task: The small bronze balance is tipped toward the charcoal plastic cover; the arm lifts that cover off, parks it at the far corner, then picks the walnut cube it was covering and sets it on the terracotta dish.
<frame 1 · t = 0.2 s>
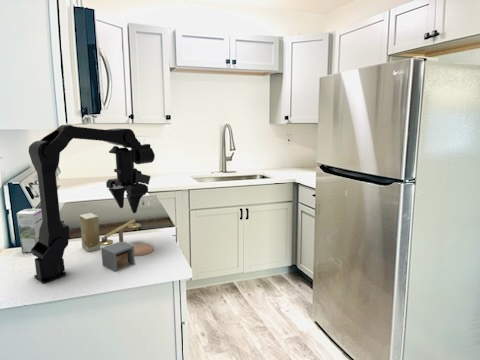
hand: (128, 210, 120), 14 cm above the countertop, fingers open, 9 cm apart
syrup box: (34, 250, 122), on the countertop
skincare box: (91, 248, 123), on the countertop
cover: (119, 264, 110), on the countertop
dish: (140, 250, 121), on the countertop
walnut block: (119, 264, 110), on the countertop
balance: (121, 247, 124), on the countertop
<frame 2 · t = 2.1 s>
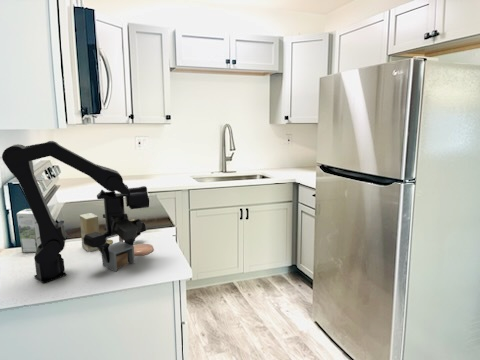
hand: (118, 258, 109), 2 cm above the countertop, fingers closed on cover, 7 cm apart
cover: (118, 264, 110), on the countertop, touching gripper
everything else where it was.
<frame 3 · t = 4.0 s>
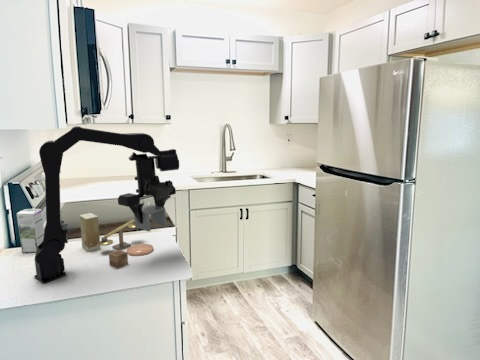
hand: (150, 220, 112), 13 cm above the countertop, fingers closed on cover, 7 cm apart
cover: (151, 226, 113), point 11 cm above the countertop, touching gripper
everything else where it was.
when the fingers open (3 cm above the countertop, at t = 6.2 s): cover drops 1 cm, on the countertop.
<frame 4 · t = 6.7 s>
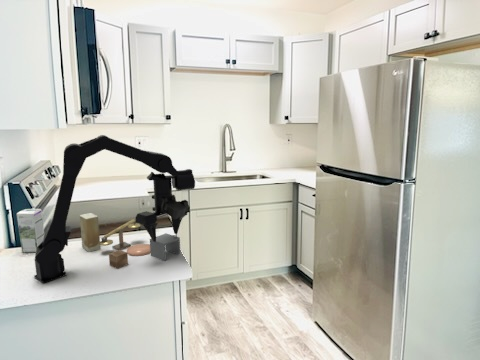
hand: (165, 237, 116), 6 cm above the countertop, fingers open, 9 cm apart
cover: (165, 255, 117), on the countertop
everything else where it was.
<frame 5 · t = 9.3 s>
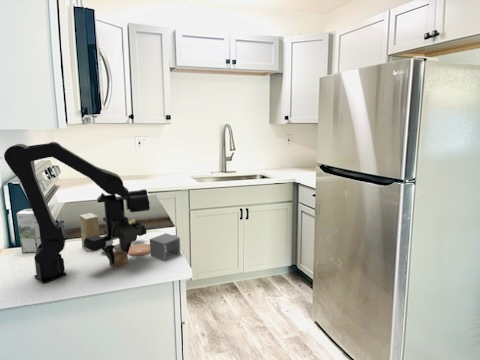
hand: (118, 261, 109), 1 cm above the countertop, fingers closed on walnut block, 4 cm apart
walnut block: (119, 264, 110), on the countertop, touching gripper
everything else where it was.
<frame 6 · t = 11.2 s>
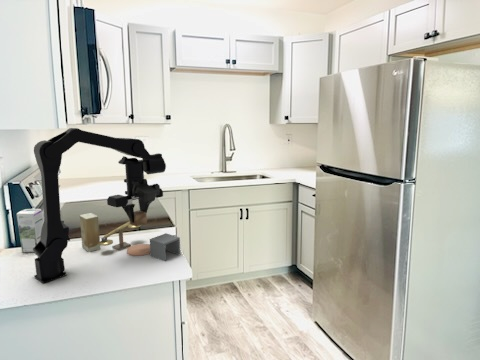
hand: (138, 220, 118), 11 cm above the countertop, fingers closed on walnut block, 4 cm apart
walnut block: (138, 223, 119), point 10 cm above the countertop, touching gripper
everything else where it was.
when the fingers open (3 cm above the countertop, at t = 12.9 s): walnut block drops 1 cm, resting on dish.
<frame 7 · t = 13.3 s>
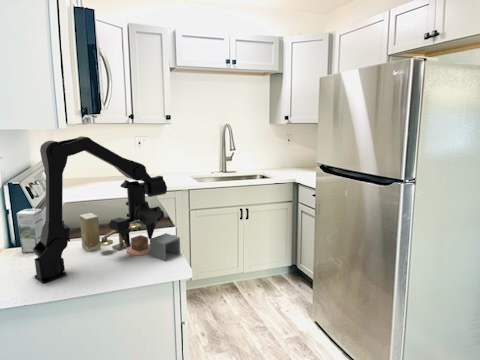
hand: (139, 242, 120), 3 cm above the countertop, fingers open, 9 cm apart
walnut block: (140, 248, 120), point 1 cm above the countertop, touching dish
everything else where it was.
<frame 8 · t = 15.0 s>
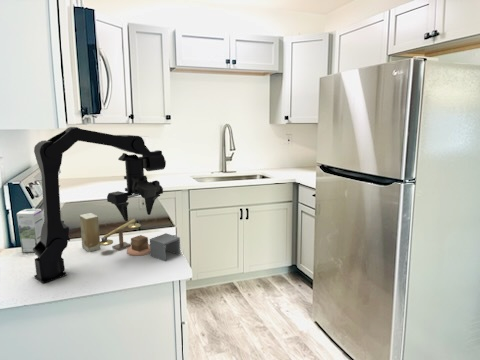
hand: (138, 217, 118), 12 cm above the countertop, fingers open, 9 cm apart
nothing on the countertop moved.
at the end: walnut block inside the target area on the dish (0.1 cm from its centre), point 0.8 cm above the dish's base; cover moved 15.2 cm from its start; the gripper is holding nothing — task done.
